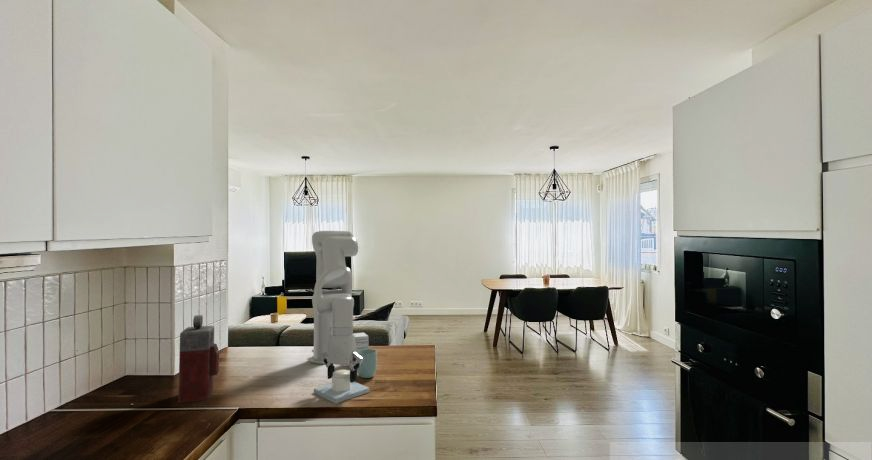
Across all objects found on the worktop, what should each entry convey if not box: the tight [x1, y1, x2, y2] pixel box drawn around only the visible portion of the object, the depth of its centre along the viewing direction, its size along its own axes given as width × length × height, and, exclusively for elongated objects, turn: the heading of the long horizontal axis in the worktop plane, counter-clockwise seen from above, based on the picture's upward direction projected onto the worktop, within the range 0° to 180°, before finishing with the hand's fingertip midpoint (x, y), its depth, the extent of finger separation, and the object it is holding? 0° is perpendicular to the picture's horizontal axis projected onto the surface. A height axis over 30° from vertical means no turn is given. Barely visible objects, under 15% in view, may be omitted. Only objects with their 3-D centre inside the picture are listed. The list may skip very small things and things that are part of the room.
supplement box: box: [353, 332, 369, 363], centre depth 175 cm, size 7×7×13 cm
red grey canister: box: [177, 314, 220, 404], centre depth 138 cm, size 9×11×28 cm
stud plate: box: [313, 381, 370, 404], centre depth 141 cm, size 14×14×6 cm
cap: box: [331, 369, 351, 392], centre depth 141 cm, size 6×6×6 cm
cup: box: [357, 348, 378, 379], centre depth 157 cm, size 8×8×10 cm
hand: (342, 379), depth 140 cm, fingers open, 9 cm apart
